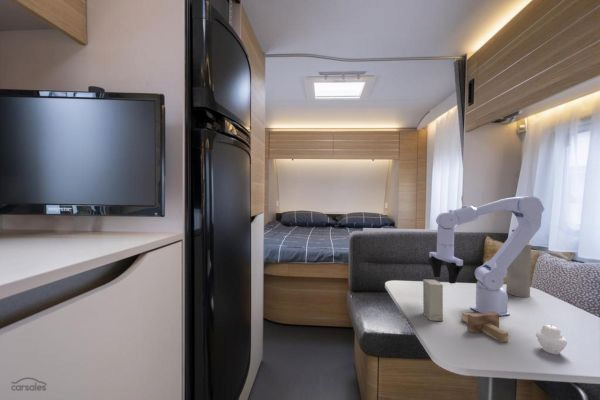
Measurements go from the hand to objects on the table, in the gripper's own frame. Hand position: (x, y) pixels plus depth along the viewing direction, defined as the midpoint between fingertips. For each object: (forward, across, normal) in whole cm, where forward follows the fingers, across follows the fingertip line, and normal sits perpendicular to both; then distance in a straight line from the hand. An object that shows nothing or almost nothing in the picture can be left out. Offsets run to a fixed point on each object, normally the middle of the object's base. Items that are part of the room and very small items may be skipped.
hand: (444, 279), depth 101 cm
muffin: (+10, +32, +6) cm, 34 cm away
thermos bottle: (+10, -5, +43) cm, 45 cm away
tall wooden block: (+10, +18, -2) cm, 21 cm away
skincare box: (+10, +7, -11) cm, 17 cm away
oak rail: (+10, +18, -2) cm, 21 cm away
